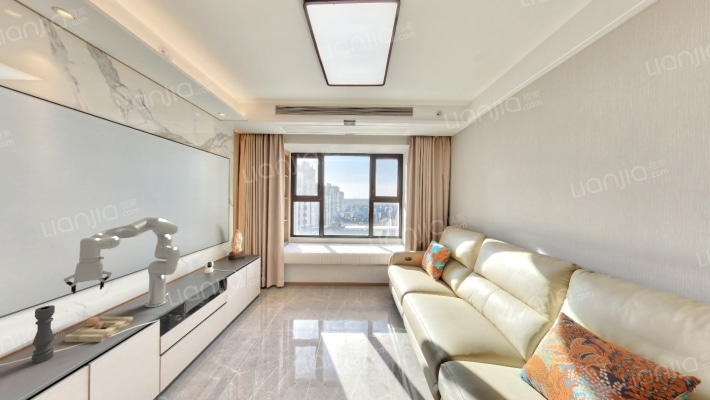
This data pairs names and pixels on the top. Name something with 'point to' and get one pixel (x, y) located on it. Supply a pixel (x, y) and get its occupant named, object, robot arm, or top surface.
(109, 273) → the robot arm
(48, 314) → the candle holder
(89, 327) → the board
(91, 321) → the ball
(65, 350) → the top surface
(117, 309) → the top surface
